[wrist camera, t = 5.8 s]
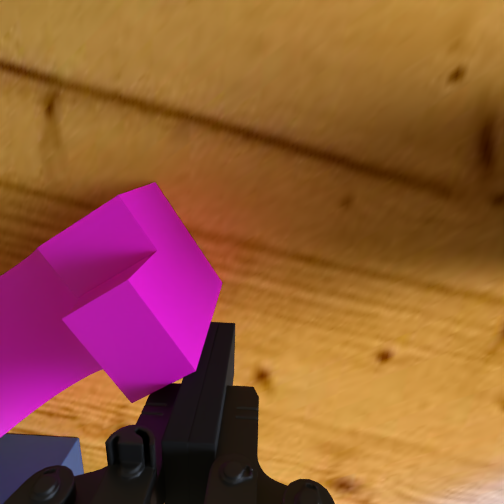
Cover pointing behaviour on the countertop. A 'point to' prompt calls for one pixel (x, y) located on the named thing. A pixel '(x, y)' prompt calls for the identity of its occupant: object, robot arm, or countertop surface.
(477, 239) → the countertop surface
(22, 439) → the cube
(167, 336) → the toy block
